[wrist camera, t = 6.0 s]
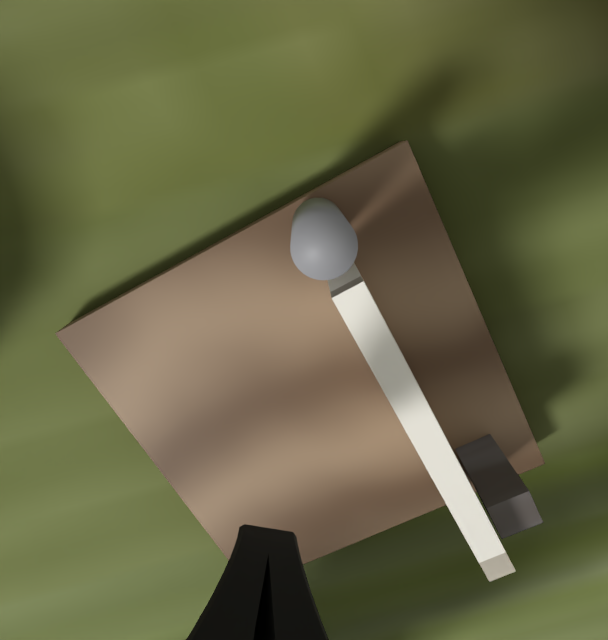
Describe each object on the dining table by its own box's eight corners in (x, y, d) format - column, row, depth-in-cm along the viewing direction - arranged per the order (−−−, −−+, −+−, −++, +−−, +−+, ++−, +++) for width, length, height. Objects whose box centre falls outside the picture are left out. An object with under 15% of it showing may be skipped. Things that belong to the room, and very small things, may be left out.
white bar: (282, 213, 16) (277, 234, 12) (328, 188, 16) (338, 200, 12) (444, 503, 21) (481, 591, 17) (482, 486, 20) (529, 571, 16)
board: (532, 447, 22) (593, 524, 17) (251, 566, 24) (240, 662, 19) (400, 141, 17) (436, 137, 13) (69, 323, 19) (-1, 374, 15)
